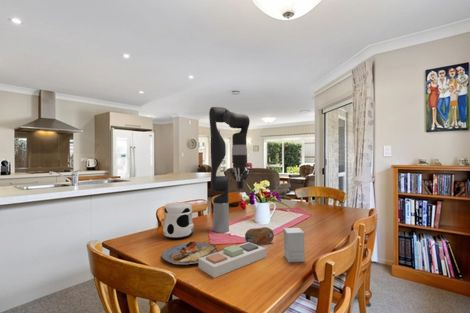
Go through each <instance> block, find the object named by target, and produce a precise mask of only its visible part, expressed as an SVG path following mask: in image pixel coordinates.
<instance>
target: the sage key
mask: <svg viewBox="0 0 470 313" xmlns="http://www.w3.org/2000/svg"><path fill="white" fill-rule="evenodd" d="M223 250H224V254H226V255H228V256H230V257H232V258H233V257H236V256H239V255H241V254H243V248H241V247H238V245H236V244H233V245H230V246H227V247H223Z"/></svg>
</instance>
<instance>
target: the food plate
mask: <svg viewBox="0 0 470 313" xmlns="http://www.w3.org/2000/svg"><path fill="white" fill-rule="evenodd" d="M216 252H218V248H217V246H216V245H214V244H211V243H208V242H201V241H189V242H186V243H180V244H176V245H174V246H172V247H169V248H166V249H165V250H164V251H163V252H162V254H161V258H162V259H163V260H165V261H166V262H168V263H170V264H171V263H172V264H174V265H186V266H187V265H190V264H199V260H198V258H201V257H204V256H207V255H210V254H213V253H216Z"/></svg>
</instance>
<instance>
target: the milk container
mask: <svg viewBox="0 0 470 313" xmlns="http://www.w3.org/2000/svg"><path fill="white" fill-rule="evenodd" d="M162 226H163V227H162V230H163V231H162V232H163V235H164V236H165V237H166V238H168V239H184V238H188V237H190V236H191V235H193V233H194V229H195V224H194V220H193V206H192V203H191V202H185V201H184V202H183V201H182V202H179V201H177V202H170V203H166V204H165V205H164V221H163V225H162Z"/></svg>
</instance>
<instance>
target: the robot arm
mask: <svg viewBox="0 0 470 313" xmlns="http://www.w3.org/2000/svg"><path fill="white" fill-rule="evenodd" d="M208 115H209V117H208V119H209V127H210V128H209V129H210V189H211V192H222V193H221V194H218V195H217V196H215V197H213V214H212V230H213V231H214V233H220V234H221V233H227V232H229V231H230V217H229V216H230V212H229V211H230V208H229V207H230V205H229V191H230V190H229V186H230V180H229V177H228V176H227V175H217V172H218V170H219V167H220V165H221V164H222V162H223V160H224V159H225V157H226V155H227V153H226V152H227V148H226V147H227V146H226V142H225V139H224V138H223V136H222V135H221V134H220V131H219V129H218V126H217V123H221V124H223V123H224V124H226V125H228V126H229V127H230V128H231V129H240V131H239V132H236V133H233V134H232V138H231V139H232V145H231V146H232V148H231V160H232V161H231V162H232V164H233V167H232V169H230V173H231V175H232V177H233V179H234V180H235V181H236V187H237V189H238V190H239V189H240V190H242V189H244V188H243V187H244V181H246V180H247V178H248V176H249V175H250V173H251V171H250V170H249V169H247V168H248V166H247V163H248V148H247V135H248V130H249V127H250V124H251V123H250V121H251V120H250V117H249V116H248V115H247V114H241V113H235V112H231V111H230V110H229V109H227V108H225V107H222V106H221V107H219V106H211V107H210V109H209V114H208Z"/></svg>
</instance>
